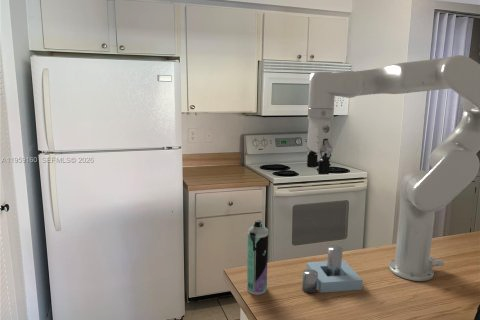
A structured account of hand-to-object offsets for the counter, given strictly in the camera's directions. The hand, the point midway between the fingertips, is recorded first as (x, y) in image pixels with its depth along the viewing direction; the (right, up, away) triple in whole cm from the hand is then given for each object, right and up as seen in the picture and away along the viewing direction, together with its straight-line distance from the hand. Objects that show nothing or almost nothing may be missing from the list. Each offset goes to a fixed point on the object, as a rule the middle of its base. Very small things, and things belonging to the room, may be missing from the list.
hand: (317, 170), depth 113 cm
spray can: (-19, -33, -11) cm, 40 cm away
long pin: (+3, -32, -5) cm, 33 cm away
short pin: (-4, -33, -10) cm, 35 cm away
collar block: (+3, -32, -5) cm, 33 cm away
